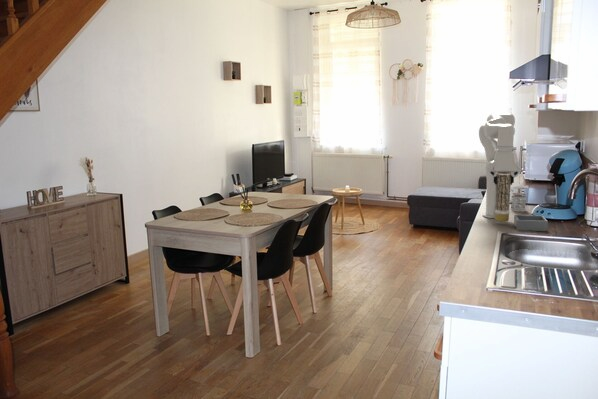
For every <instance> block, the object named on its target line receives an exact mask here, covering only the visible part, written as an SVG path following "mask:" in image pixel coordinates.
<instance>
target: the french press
mask: <svg viewBox="0 0 598 399" xmlns="http://www.w3.org/2000/svg"><path fill="white" fill-rule="evenodd" d="M520 169H521V171H523V169H522V168H521V167H520ZM520 178H521V177H519V182H518V184H515V185H513V186H512V185H511V188H512V189H511V188H510V192H512V195H511V200H510V207H509V211H513V212H527V211H528V210H527V208H526V200H527V196H526V193H523V192H513V189H516V190H520V189H522V190H523V189H525V190H526V189H527V186H525V185H523V184H520V182H521V179H520Z"/></svg>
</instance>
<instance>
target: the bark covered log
mask: <svg viewBox="0 0 598 399" xmlns="http://www.w3.org/2000/svg"><path fill="white" fill-rule="evenodd" d="M511 187H512V185H511V173H509V172H498V173H497V184H496V202H495V218H494V220H495V221H496V222H501V223H502V222H508V221H509V220H510V210H509V209H510V208H511Z"/></svg>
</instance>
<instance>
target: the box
mask: <svg viewBox="0 0 598 399" xmlns="http://www.w3.org/2000/svg"><path fill="white" fill-rule="evenodd" d="M513 216H514V217H513V218H514V219H513V226H514V227H515V228H516V231H529V230H533V232H534V231H535V232H548V225H549V222H548V220H547V219H546V217H545V216H544V215H534V214H533V215H532V214H531V215H528V214H514V215H513Z"/></svg>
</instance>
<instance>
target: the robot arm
mask: <svg viewBox="0 0 598 399" xmlns="http://www.w3.org/2000/svg"><path fill="white" fill-rule="evenodd" d="M514 115H515V114H513V113H511V112H496V113H495V112H494V113H491V114H489V116H488V117H486V118H487V119H486V122H485V124H483V125H481V126H480V127H479V128H478V137H479V141H480V143H481V145H482V147H483V148H484V153H485V158H486V159H485V160H486V162H487V163H486V165H485V175H486V176H485V177H486V191H485V192H486V193H485V195H486V196H485V200H486V201H485V212H484V213H482V216H483V217H484V218H487V219H495V202H496V184H497V173H498V172H509V173H511V186H512V185H513V184H514V183H515V178H518V176H520V174H521V171H522V170H521V169H522V168H521V167H520V162H519V158H518V155H517V152H516V151H517V147H515V146H514V139H515V138H514V137H515V134H516V133H515V132H516V129H515V125H516V124H515V123H516V119H515V116H514ZM496 139H497V140H496ZM520 168H521V169H520Z"/></svg>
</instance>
